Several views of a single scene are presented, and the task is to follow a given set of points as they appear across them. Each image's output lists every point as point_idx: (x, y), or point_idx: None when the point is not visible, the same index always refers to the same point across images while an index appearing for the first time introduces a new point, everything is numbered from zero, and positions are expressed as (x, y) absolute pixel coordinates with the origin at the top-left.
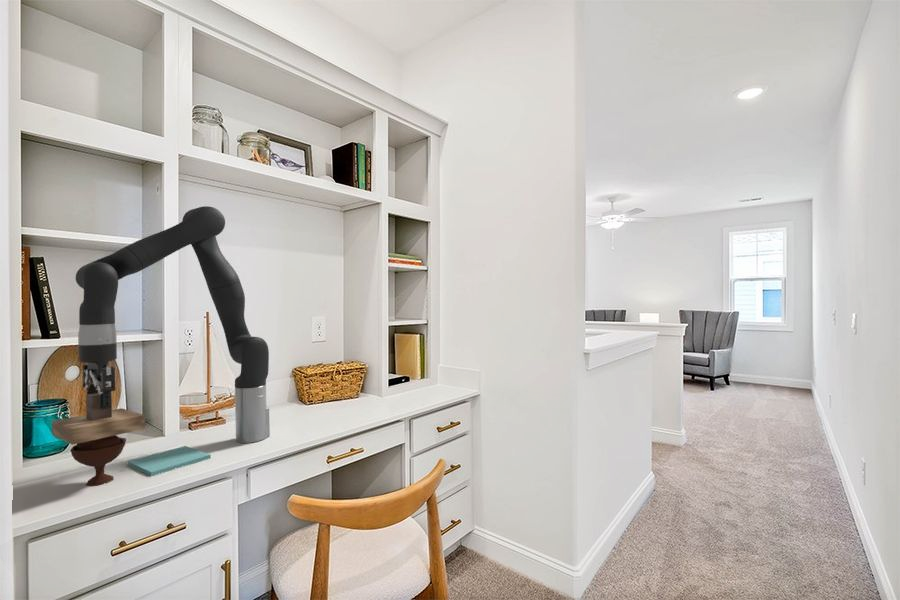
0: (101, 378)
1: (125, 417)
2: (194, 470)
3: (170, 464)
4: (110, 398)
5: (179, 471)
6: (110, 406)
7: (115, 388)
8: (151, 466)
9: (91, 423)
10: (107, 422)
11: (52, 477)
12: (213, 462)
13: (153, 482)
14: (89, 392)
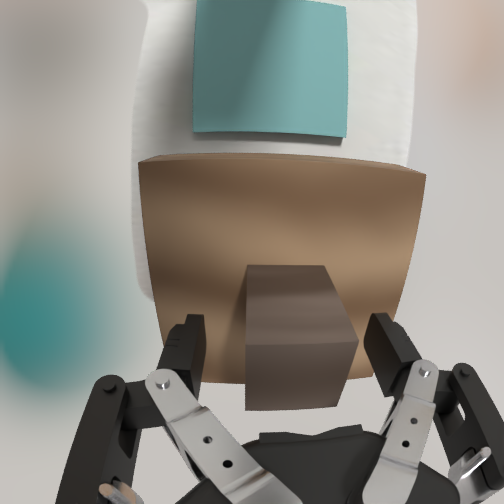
0: (453, 459)
1: (391, 237)
2: (392, 75)
3: (331, 85)
4: (402, 341)
5: (369, 91)
6: (387, 316)
7: (469, 368)
8: (301, 115)
9: (358, 336)
10: (397, 302)
11: (142, 259)
12: (378, 27)
13: (384, 156)
14: (197, 393)
